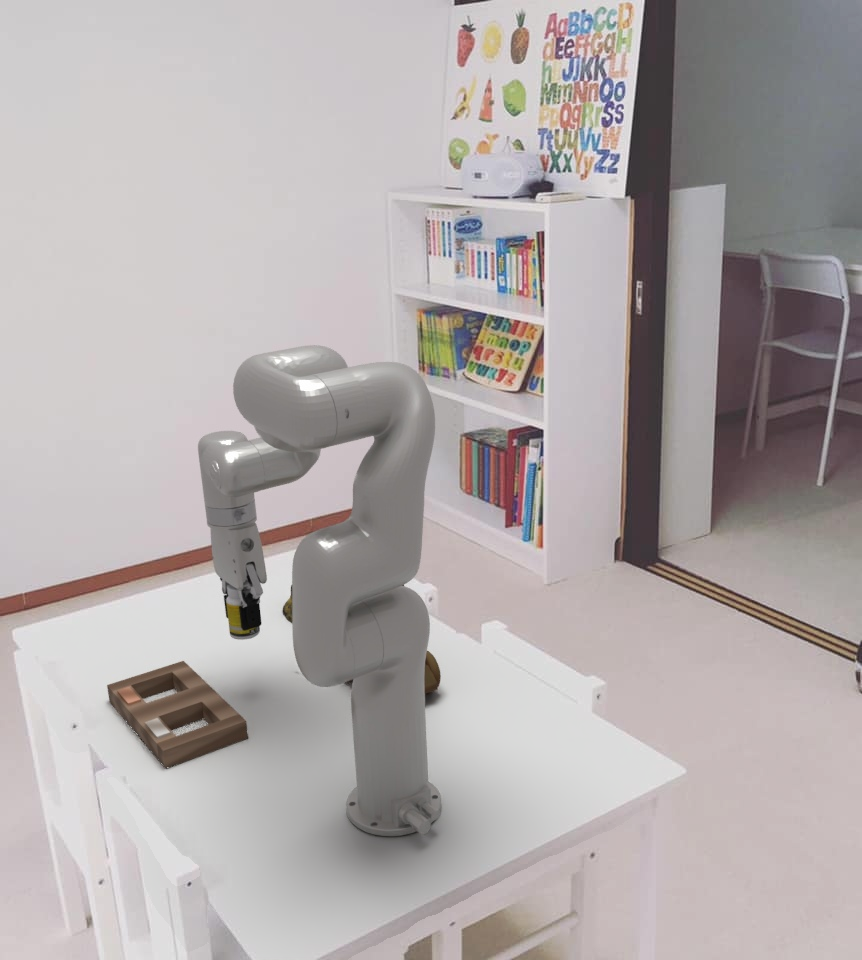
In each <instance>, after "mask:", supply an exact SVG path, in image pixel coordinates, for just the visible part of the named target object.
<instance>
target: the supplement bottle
mask: <svg viewBox="0 0 862 960" xmlns="http://www.w3.org/2000/svg"><path fill="white" fill-rule="evenodd" d="M248 584H249V582H248V581H247V582H244V583H243V585H244V586H245V585H248ZM250 591H251V589H248V590H245V591H244V593H245V597H246V595H247V594H248V593H250ZM227 593H228V597H227V599H226V604H227V612H228V618H227V619H228V628H229V630H228V631H229V635H230V637H231V638H232V639H235V640H242V641H243V640H250V639H254V638H255V637H257V636H258V635H259V634H260V632H261V625H260V626H258V627H255V628H252V629H249V630H246V631H244V630H242V628H241V621H240V612H239V606H241V602H240V598H239V594H238V589H237V588H235V587H233V586H232V585H230V584H228V585H227Z"/></svg>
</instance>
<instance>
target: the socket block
mask: <svg viewBox="0 0 862 960" xmlns="http://www.w3.org/2000/svg"><path fill="white" fill-rule="evenodd" d="M106 687H107V693H108V694H107V695H108V701H109V703H110V704H111V705H112V707H113V708H114V709H115V710H116V712H117V713H118V714H119V715H120V716H121V717H122V719H123V720H124V719H125V720H126V721H127V722H128V723H127V722H126V721H125V720H124V721H125V722H126V723H127V724H128V726H129V725H130V726H131V727H132V728H133V729H132V728H131V727H130V726H129V727H130V728H131V729H132V730H133V732H134V731H135V732H136V733H137V734H138V735H139V736H138V735H137V734H136V733H135V732H134V733H135V734H136V735H137V736H138V738H139V737H140V738H141V739H142V740H143V741H144V742H143V741H142V740H141V739H140V738H139V739H140V740H141V741H142V742H143V744H144V743H145V744H146V745H147V746H148V747H149V748H148V747H147V746H146V745H145V744H144V745H145V746H146V747H147V748H148V750H149V749H150V750H151V751H152V752H153V753H152V752H151V751H150V750H149V751H150V752H151V753H152V755H153V756H154V755H155V756H156V757H157V758H156V757H155V756H154V757H155V758H156V759H157V760H158V759H159V760H158V762H159V761H160V762H161V763H162V764H163V765H164V766H163V765H162V764H161V763H160V762H159V763H160V764H161V765H162V766H163V768H164V767H165V768H167V767H170V766H172V765H175V766H177V765H176V764H178V765H180V764H183V763H186V762H189V761H192V760H193V759H196V758H199V757H201V756H204V755H207V754H210V753H212V752H215V751H219V750H221V749H223V748H226V747H229V746H231V745H234V744H237V743H239V742H242V741H245V740H248V739H249V735H248V725H247V720H246V719H245V718H244V717H243V716H242V715H241V714H240V713H239V712H237V710H236V709H234V707H232V706H231V704H229V703H228V702H227V701H226V700H225V699H224V698H223V697H222V696H221V695H220V694H219V693H218V692H217V691H216V690H215V689H214V688H213V687H212V686H211V685H209V684H208V683H207V681H205V679H203V678H202V677H201V676H200V675H199V673H197V672H196V671H195V670H194V669H193V668H192V667H190V666H189V664H188V663H186V662H185V660H182V661H178V662H175V663H172V664H169V665H165V666H163V667H160V668H159V667H158V668H155V669H153V670H150V671H147V672H143V673H140V674H138V675H135V676H131V677H129V678H128V677H127V678H125V679H122V680H119V681H116V682H112V683H110V684H107V685H106ZM172 689H175V691H176V692H175V693H172V694H170V695H167V696H165V697H160V698H158V699H155V700H151V701H148V702H147V701H145V699H146V698H149V697H152V696H155V695H157V694H160V693H164V692H168V691H170V690H172ZM163 691H164V692H163ZM148 696H149V697H148ZM200 720H204V721H206V723H207V725H205V726H201V727H198V728H196V729H192V730H190V731H187V732H184V733H181V734H178V735H176V734H175V733H174V732H173V731H172V730H176V729H179V728H181V727H185V726H186V725H189V724H192V723H193V724H194V723H195V722H199V721H200ZM182 762H183V763H182ZM172 767H173V766H172ZM165 768H164V769H165ZM170 768H171V767H170ZM167 769H168V768H167Z"/></svg>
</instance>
